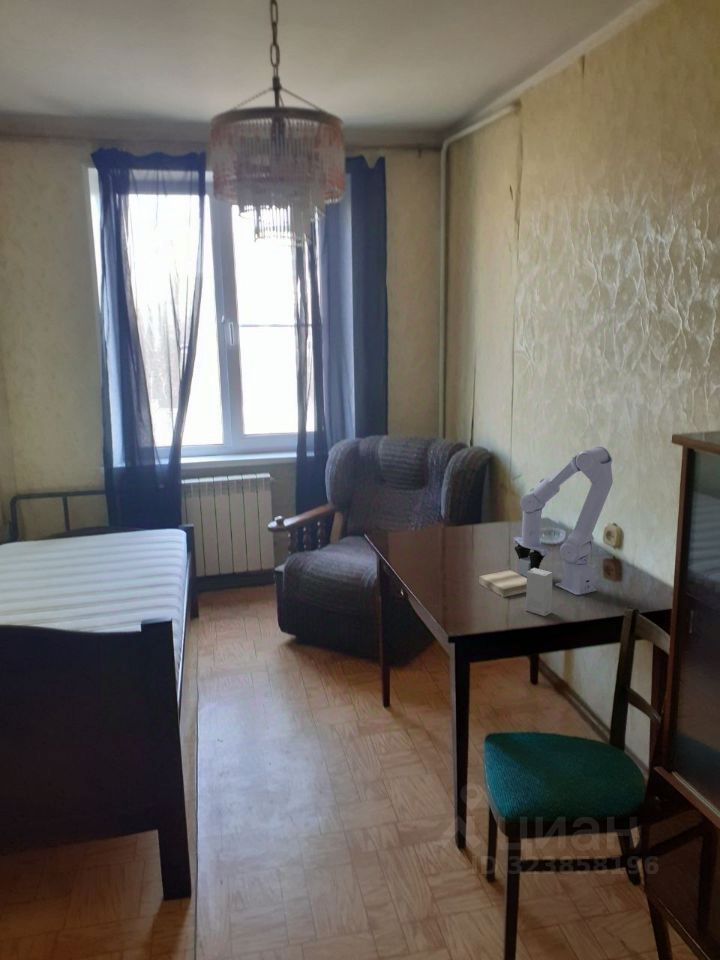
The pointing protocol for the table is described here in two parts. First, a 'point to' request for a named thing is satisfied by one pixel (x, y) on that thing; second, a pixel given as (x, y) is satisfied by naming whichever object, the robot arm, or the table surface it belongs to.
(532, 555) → the robot arm
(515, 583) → the birch base
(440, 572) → the table surface
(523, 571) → the slate block
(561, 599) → the table surface
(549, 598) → the skincare box
